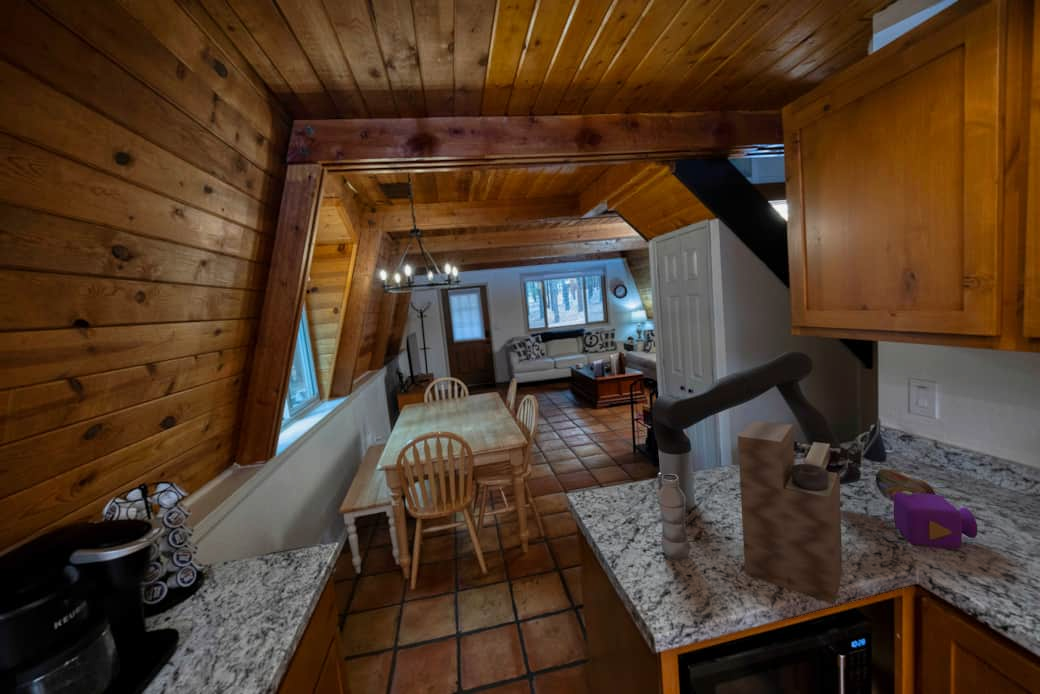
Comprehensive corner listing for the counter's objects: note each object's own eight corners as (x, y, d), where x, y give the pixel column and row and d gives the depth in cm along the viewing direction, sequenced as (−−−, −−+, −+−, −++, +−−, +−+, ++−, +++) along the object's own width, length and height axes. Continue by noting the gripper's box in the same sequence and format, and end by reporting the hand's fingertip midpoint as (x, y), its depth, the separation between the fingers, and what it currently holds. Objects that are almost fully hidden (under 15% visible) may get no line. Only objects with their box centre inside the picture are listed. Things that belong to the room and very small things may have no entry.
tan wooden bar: (789, 486, 83) (788, 472, 82) (806, 453, 97) (806, 441, 97) (826, 493, 79) (825, 479, 78) (838, 457, 93) (837, 445, 93)
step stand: (745, 574, 91) (737, 436, 87) (758, 547, 100) (752, 420, 96) (835, 605, 80) (830, 448, 76) (842, 571, 89) (838, 429, 85)
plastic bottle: (676, 567, 96) (670, 486, 94) (656, 552, 102) (650, 475, 100) (696, 557, 98) (691, 478, 96) (675, 543, 104) (670, 469, 102)
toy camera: (991, 553, 89) (991, 510, 88) (917, 552, 92) (917, 510, 91) (950, 526, 100) (950, 487, 99) (885, 525, 103) (884, 488, 101)
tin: (874, 492, 118) (874, 464, 117) (885, 490, 118) (885, 463, 117) (927, 519, 103) (927, 487, 102) (939, 517, 103) (939, 486, 102)
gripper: (794, 441, 108) (782, 427, 97) (865, 451, 98) (859, 436, 87) (792, 470, 106) (779, 459, 95) (864, 482, 96) (859, 472, 85)
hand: (818, 448), depth 91 cm, fingers open, 8 cm apart
